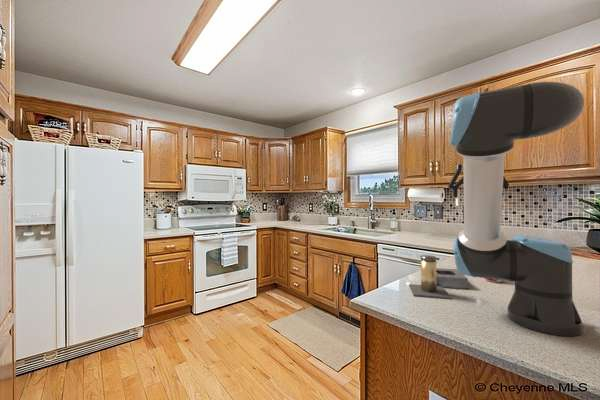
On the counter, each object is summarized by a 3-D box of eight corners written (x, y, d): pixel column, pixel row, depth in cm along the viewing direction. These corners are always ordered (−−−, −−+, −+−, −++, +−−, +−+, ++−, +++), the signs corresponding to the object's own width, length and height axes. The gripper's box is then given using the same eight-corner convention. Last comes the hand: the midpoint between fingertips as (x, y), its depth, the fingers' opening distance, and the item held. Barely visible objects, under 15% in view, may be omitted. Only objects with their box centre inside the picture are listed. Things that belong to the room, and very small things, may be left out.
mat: (451, 299, 89) (451, 297, 89) (413, 296, 93) (413, 294, 93) (442, 287, 101) (442, 286, 101) (409, 285, 104) (409, 284, 104)
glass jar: (438, 293, 94) (437, 258, 94) (422, 292, 95) (422, 257, 95) (434, 288, 99) (434, 255, 99) (419, 287, 100) (419, 254, 100)
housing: (467, 288, 99) (467, 278, 100) (433, 286, 103) (433, 276, 103) (456, 278, 113) (456, 269, 113) (426, 276, 116) (426, 267, 116)
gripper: (509, 151, 103) (510, 205, 102) (439, 155, 109) (440, 205, 109) (519, 147, 95) (520, 205, 95) (444, 151, 102) (444, 206, 102)
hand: (477, 205), depth 102 cm, fingers open, 13 cm apart
